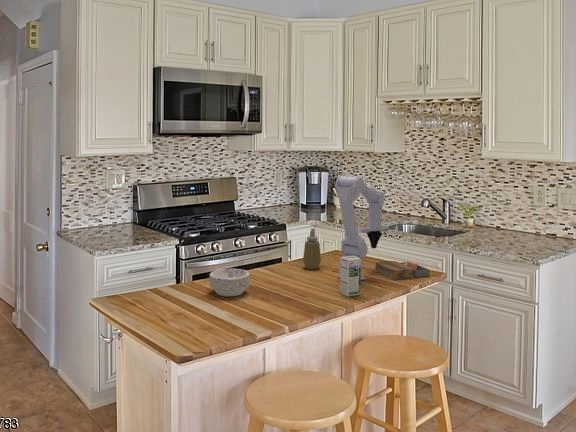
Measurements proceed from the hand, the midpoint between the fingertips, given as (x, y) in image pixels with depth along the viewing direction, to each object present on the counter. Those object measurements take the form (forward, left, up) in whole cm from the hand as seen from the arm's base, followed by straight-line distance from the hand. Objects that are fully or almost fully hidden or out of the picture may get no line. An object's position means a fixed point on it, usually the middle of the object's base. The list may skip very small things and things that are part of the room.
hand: (373, 248), depth 255 cm
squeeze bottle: (-25, +11, -10) cm, 29 cm away
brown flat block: (+5, -11, -10) cm, 15 cm away
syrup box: (-27, -30, -10) cm, 42 cm away
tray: (+14, -11, -10) cm, 20 cm away
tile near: (+10, -14, -7) cm, 18 cm away
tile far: (+14, -7, -7) cm, 17 cm away
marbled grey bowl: (-70, -14, -10) cm, 72 cm away
